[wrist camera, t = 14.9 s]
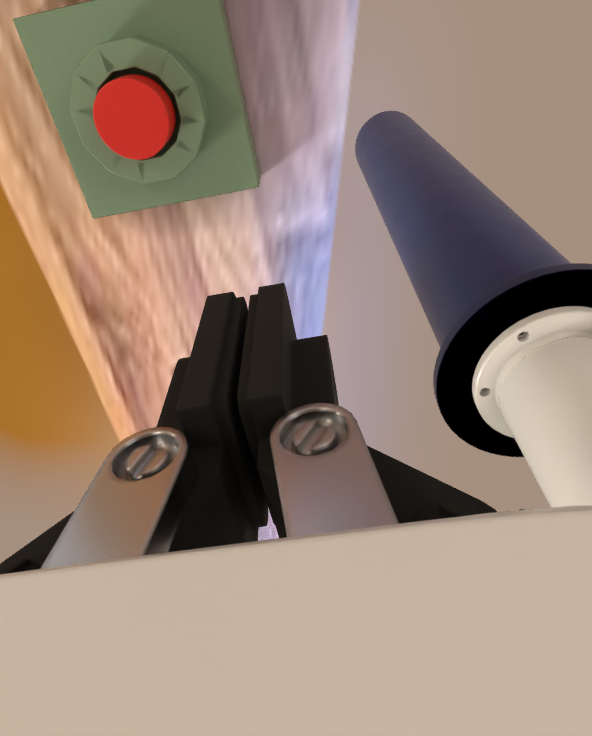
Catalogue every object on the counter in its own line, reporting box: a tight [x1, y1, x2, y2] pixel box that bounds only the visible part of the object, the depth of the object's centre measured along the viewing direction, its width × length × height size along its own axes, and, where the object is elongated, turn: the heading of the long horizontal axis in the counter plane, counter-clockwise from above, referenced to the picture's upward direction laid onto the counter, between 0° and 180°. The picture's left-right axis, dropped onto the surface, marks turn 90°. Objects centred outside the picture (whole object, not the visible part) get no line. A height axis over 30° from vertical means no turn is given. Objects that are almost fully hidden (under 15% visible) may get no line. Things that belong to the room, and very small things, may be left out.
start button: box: [93, 74, 176, 160], centre depth 26 cm, size 4×4×2 cm
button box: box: [13, 0, 261, 219], centre depth 28 cm, size 10×10×4 cm
